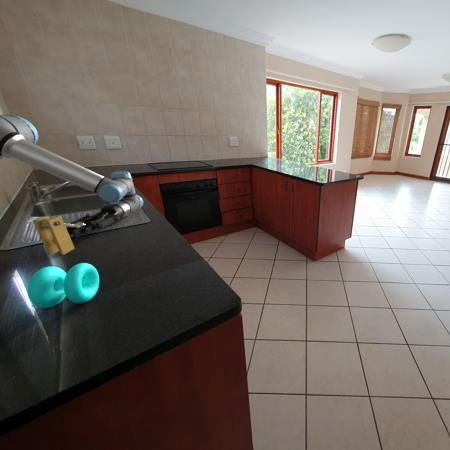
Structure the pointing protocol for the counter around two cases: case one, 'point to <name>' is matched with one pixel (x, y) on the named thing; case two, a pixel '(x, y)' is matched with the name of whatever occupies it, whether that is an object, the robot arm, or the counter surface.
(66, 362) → the counter surface
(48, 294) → the donuts
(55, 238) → the bracket
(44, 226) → the lever
